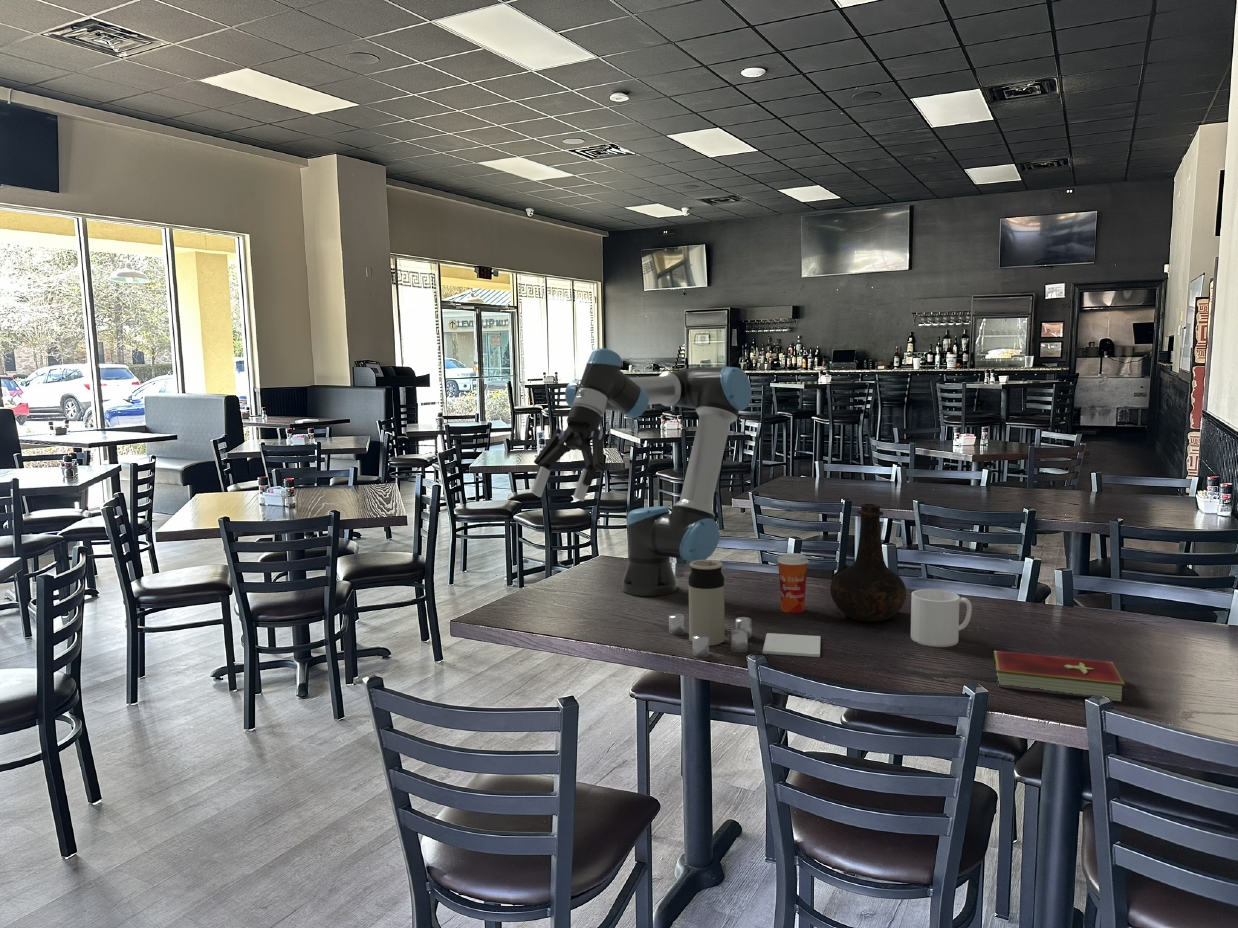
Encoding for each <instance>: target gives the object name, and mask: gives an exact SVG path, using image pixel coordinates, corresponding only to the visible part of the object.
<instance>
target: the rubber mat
mask: <svg viewBox="0 0 1238 928" xmlns="http://www.w3.org/2000/svg"><path fill="white" fill-rule="evenodd" d="M762 654H766V655H768V654H769V655H782V656H783V655H784V656H794V657H795V656H797V657H811V658H813V657H814V658H820V657H821V635H808V634H807V635H804V634H788V633H774V632H773V633H772V632H771V633H770V632H769V633H768V632H767V633H766V635H765V639H764V644H763V649H762Z"/></svg>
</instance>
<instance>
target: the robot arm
mask: <svg viewBox="0 0 1238 928" xmlns="http://www.w3.org/2000/svg"><path fill="white" fill-rule="evenodd" d="M622 362H623V360H622V357H621V356H620V354H618V353H617V352H615V351H614V350H612V349H609V348H603V347H600V348H595V349H593V350H592V352H591V353H590V355H589V358H588V360H587V362H586V365H585V368H584V371H583V374H582V377H581V379H576V380H572V381H570V382H569V383H568V384H567V386H566V387H565V392H564V398H565V402H566V404H567V405H568V406H569V408H570V409H569V412H568V414H567V418H566V423H567V427H566V429H565V430H562V429H561V428H559V427H557V428H556V429H555V430H554V431H553V434H552V436H551V438H550V439H549V441H548V442H547V443H546V444H545V446H544V447H543V449H541V451H540V452H539V454H538V455H537V456H536V458H534V460H533V463H534V464H535V465H537V466H538V469H537V471H536V474H535V477H534V484H533V486H532V489H531V492H530V493H532V494H533V495H535V496H537V497H538V498H542V496H543V493H544V490H545V488H546V485H547V482H548V479H549V477H550V474H551V470H550V469H551V467H553V465H555V464H556V463H557V462H558V461H559V460H560V459H561V458H562V457H563V456H564V455H565V454H566V453H570V452H571V451H581V452H580V453H581V454H582V457H583V461H584V463H585V464H584V465H585V466H584V468H582V470H581V472H580V476H579V479H578V481H577V484H576V487H575V489H574V492H573V498H575V499H577V500H578V501H580V502H584V501H585V499H586V495H587V492H588V489H589V487H591V486H592V484H593V480H594V477H595V474H597V472H603V471H604V470H605V454H604V440H605V433H604V432H603V431H601V429H599V428H600V426H601V423H602V420H603V419H602V417H604V414H605V412H606V411H612V412H613V411H615V412H616V411H617V412H621V414H622V415H623V416H626V417H628V418H629V419H635V418H638V417H639V416H641V415H642V414H643V413H644V412H645V411H646V410H647V408H648V407H647V406H649V405H662V406H664V407H678V408H679V407H681V408H688V409H695V412H696V414H697V415H698V421H697V426H696V430H695V433H694V438H693V439H694V440H693V443H692V444H693V445H692V448H691V452H690V456H689V459H688V464H687V468H686V473H685V478H684V482H683V486H682V490H681V494H680V498H679V500H678V501H677V502H675V503H674V504H673V505H672V508H671V512H670V509H669V507H668V506H666V505H665V506H664V505H663V506H659V505H657V506H650V507H641V508H637V509H633V510H630V511H629V512H628V513H627V520H626V521H627V523H626V537H627V565H626V568H625V572H624V575H623V579H622V586H621V587H622V592H625V593H626V594H628V595H632V596H639V597H640V596H641V597H654V596H655V597H656V596H657V597H658V596H665V595H668V594H669V595H670V594H671V593H674V592H675V591H676V590H677V580H676V579H677V578H676V577H675V573H674V571H673V568H672V565H671V561H670V560H671V559H670V558H672V559H673V558H674V559H678V560H679V559H680V560H684V561H687V562H692V561H696V560H708V558H709V557H711V556H712V555H713V554H714V552H715V551H716V549H717V547H718V544H719V541H720V535H721V534H720V531H719V529H720V527H719V524H718V523H717V521H715V516H716V515H715V513H714V511H713V510H712V505H713V500H714V496H715V491H716V488H717V484H718V479H719V475H720V474H719V473H720V469H721V465H722V461H723V456H724V452H725V448H726V444H727V440H728V435H729V430H730V428H731V424H732V423H734V422H735V421H737V420H738V416H739V412H740V411H741V412H742V411H743V410H745V409H747V407H749V405H750V403H751V400H752V386H751V382H750V379H749V377H748V375H747V374H746V372H745V371H744V370H743V369H741V368H740V367H734V366H733V367H732V366H717V367H716V366H715V367H711V366H710V367H691V368H687V369H686V368H685V369H681V370H674V371H665V372H662V373H661V374H659V375H658V376H657V375H656V376H641V377H639V376H638V377H637V376H636V377H628V376H627V375H626V374H625V373H623V371H622V370H621V367H622ZM591 443H592V445H591Z"/></svg>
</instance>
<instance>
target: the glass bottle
mask: <svg viewBox="0 0 1238 928" xmlns="http://www.w3.org/2000/svg"><path fill="white" fill-rule="evenodd" d="M859 507H860V510H858V511H856V513H857V514H858V515H860V528H859V530H860V531H859V539H858V546H857V553H856V557H855V561H854V563H853V564H852V565H849V566H848V565H847V564H844V565H843V566H842V567H840V568H838V570H836V572H834V573H833V574H832V576H831V577H832V579H831V582H830V589H829V590H830V596H831V598H832V600H833V603H834V604H835V606H836V607H837V608H838V610H839V611H841V612H842V613H843V614H844V615H845V616H847V617H848V618H850V619H853V620H856V621H858V622H869V623H872V622H874V623H875V622H883V621H885V620H888V619H890V618H892V617H894V616H895V615H896V614H897V613H899V611H900V610H901V609H902V608H903V606H904V604H905V602H906V599H907V587H906V585H905V582H904V581H903V579H902V577H900V575H899V574H897V573H896V572H895V571H893V570H891V569H890V568H889V567H888V566H887V565H886V562H885V559H884V554H883V547H882V546H883V545H882V535H881V517H880V516H883V515H884V514H885V513H884V511H880V510H881V509H880V508H881V505H878V504H875V503H863V504H860V506H859Z"/></svg>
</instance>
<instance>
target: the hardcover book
mask: <svg viewBox="0 0 1238 928" xmlns="http://www.w3.org/2000/svg"><path fill="white" fill-rule="evenodd" d="M992 664H993V665H994V666H996V668H995V671H996V670H997V673H996V677H997V676H998V679H997V682H998V681H999V684H1001V685H1014V686H1021V687H1029V688H1040V689H1044V690H1051V691H1059V692H1065V693H1073V694H1082V695H1101V696H1106V697H1109V698H1110V699H1112V700H1111V701H1113V702H1114V701H1115V702H1116V701H1117V702H1122V697H1123V687H1126V682H1125V681H1124V679H1123V677H1122V676H1121V674H1120V671H1119V670H1118V668H1117V667H1116V665H1115V663H1114V661H1105V660H1096V659H1095V660H1093V659H1085V658H1075V657H1074V658H1073V657H1065V656H1064V657H1063V656H1054V655H1053V656H1052V655H1041V654H1033V653H1024V652H1023V653H1022V652H1012V651H1002V650H1000V651H999V650H993V663H992ZM993 665H992V666H993Z"/></svg>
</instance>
